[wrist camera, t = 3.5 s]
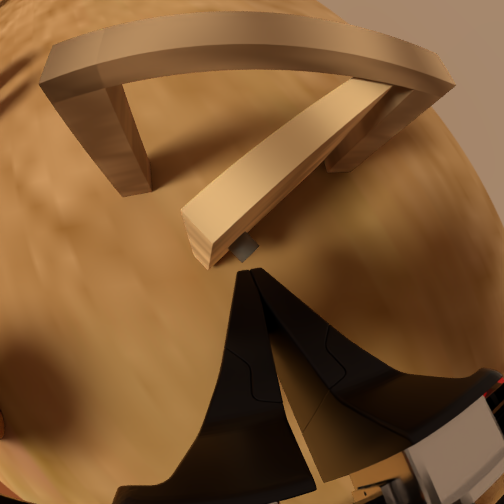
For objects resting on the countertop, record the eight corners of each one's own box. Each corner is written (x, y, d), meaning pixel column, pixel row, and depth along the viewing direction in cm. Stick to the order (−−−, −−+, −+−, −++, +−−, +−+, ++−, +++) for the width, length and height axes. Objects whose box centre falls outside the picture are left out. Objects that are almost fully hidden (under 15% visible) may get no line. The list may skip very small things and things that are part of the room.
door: (312, 147, 19) (382, 59, 9) (335, 170, 19) (418, 93, 9) (194, 255, 16) (180, 209, 7) (220, 282, 16) (241, 272, 7)
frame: (343, 147, 20) (436, 53, 8) (350, 171, 19) (456, 85, 8) (121, 169, 17) (52, 45, 6) (122, 197, 16) (38, 84, 5)
